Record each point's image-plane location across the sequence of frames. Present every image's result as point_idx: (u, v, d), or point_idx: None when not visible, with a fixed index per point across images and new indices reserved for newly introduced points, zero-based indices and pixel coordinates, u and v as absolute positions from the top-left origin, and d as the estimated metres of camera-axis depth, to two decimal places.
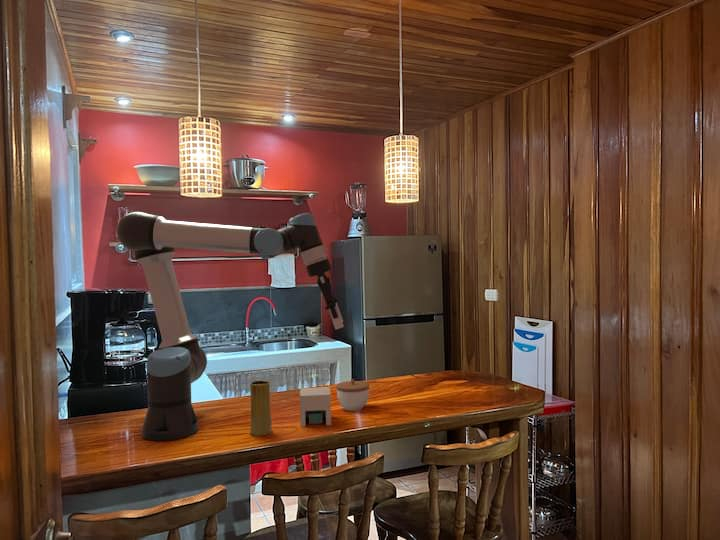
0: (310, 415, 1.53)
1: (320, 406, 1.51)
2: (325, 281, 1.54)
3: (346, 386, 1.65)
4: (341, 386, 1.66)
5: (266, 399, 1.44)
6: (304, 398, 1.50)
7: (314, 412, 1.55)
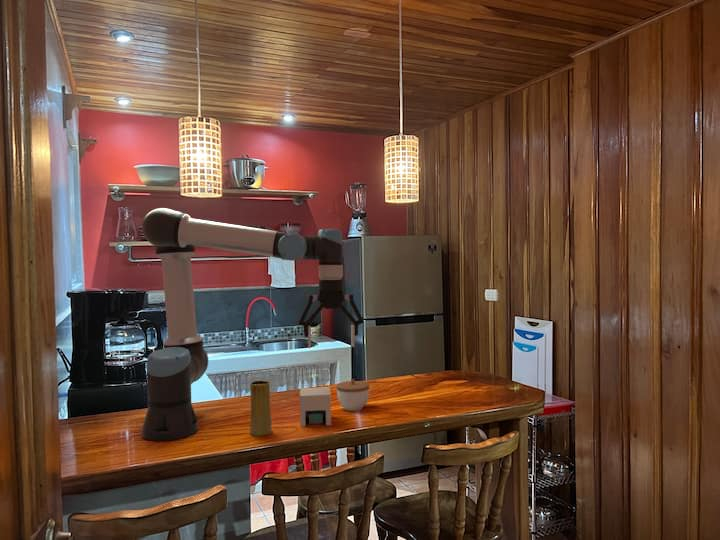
0: (310, 415, 1.53)
1: (320, 406, 1.51)
2: None
3: (346, 386, 1.65)
4: (341, 386, 1.66)
5: (266, 399, 1.44)
6: (304, 398, 1.50)
7: (314, 412, 1.55)
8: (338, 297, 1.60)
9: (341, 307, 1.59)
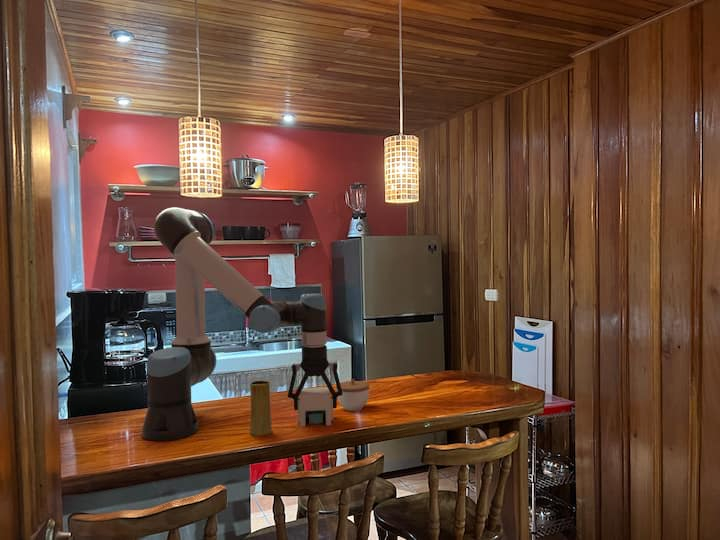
0: (310, 415, 1.53)
1: (320, 406, 1.51)
2: None
3: (346, 386, 1.65)
4: (341, 386, 1.66)
5: (266, 399, 1.44)
6: (304, 398, 1.50)
7: (314, 412, 1.55)
8: (322, 364, 1.54)
9: (323, 376, 1.53)
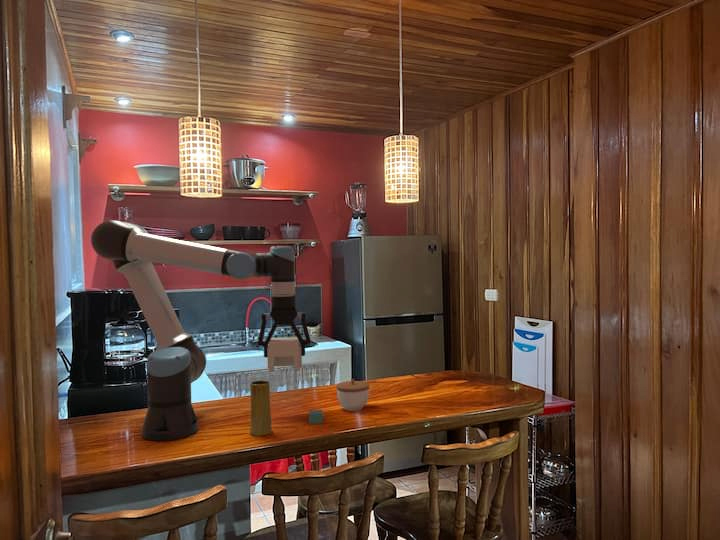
0: (310, 415, 1.53)
1: (288, 352, 1.57)
2: None
3: (346, 386, 1.65)
4: (341, 386, 1.66)
5: (266, 399, 1.44)
6: (272, 345, 1.57)
7: (314, 412, 1.55)
8: (291, 313, 1.61)
9: (291, 325, 1.60)
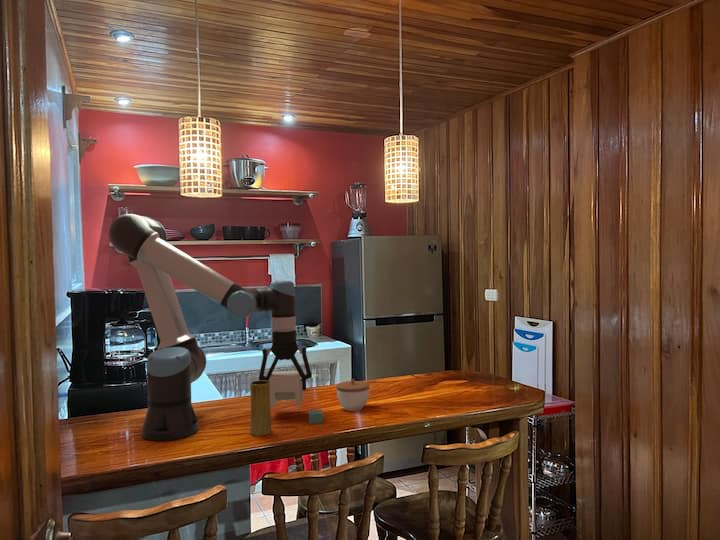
0: (310, 415, 1.53)
1: (289, 388, 1.58)
2: None
3: (346, 386, 1.65)
4: (341, 386, 1.66)
5: (266, 399, 1.44)
6: (273, 380, 1.57)
7: (314, 412, 1.55)
8: (291, 348, 1.61)
9: (292, 359, 1.60)
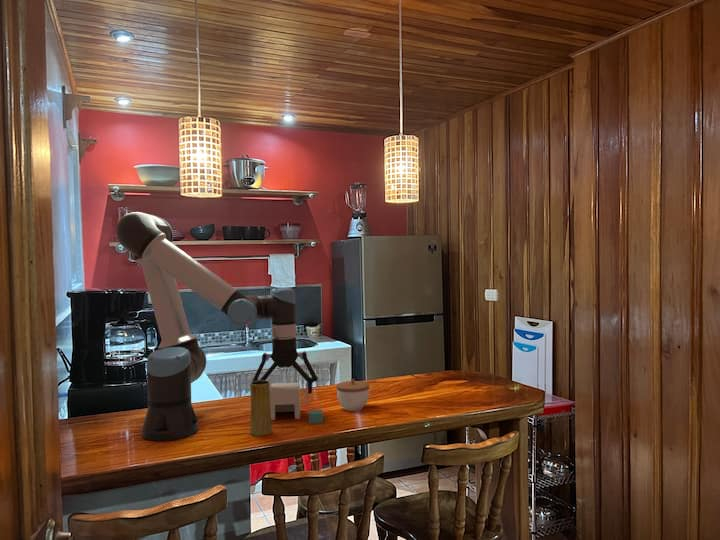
0: (311, 415, 1.53)
1: (289, 400, 1.58)
2: None
3: (346, 386, 1.65)
4: (341, 386, 1.66)
5: (266, 399, 1.44)
6: (273, 393, 1.57)
7: (314, 412, 1.55)
8: (291, 356, 1.61)
9: (294, 366, 1.60)
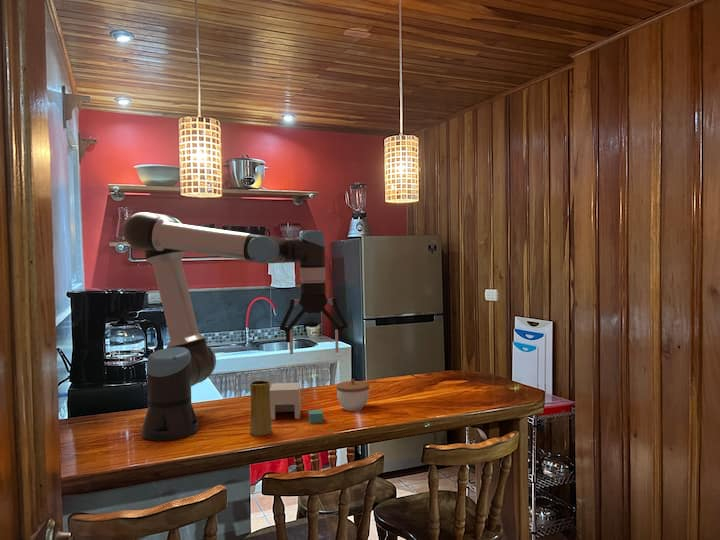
0: (311, 415, 1.53)
1: (289, 400, 1.58)
2: None
3: (346, 386, 1.65)
4: (341, 386, 1.66)
5: (266, 399, 1.44)
6: (273, 393, 1.57)
7: (314, 412, 1.55)
8: (321, 301, 1.54)
9: (324, 311, 1.53)
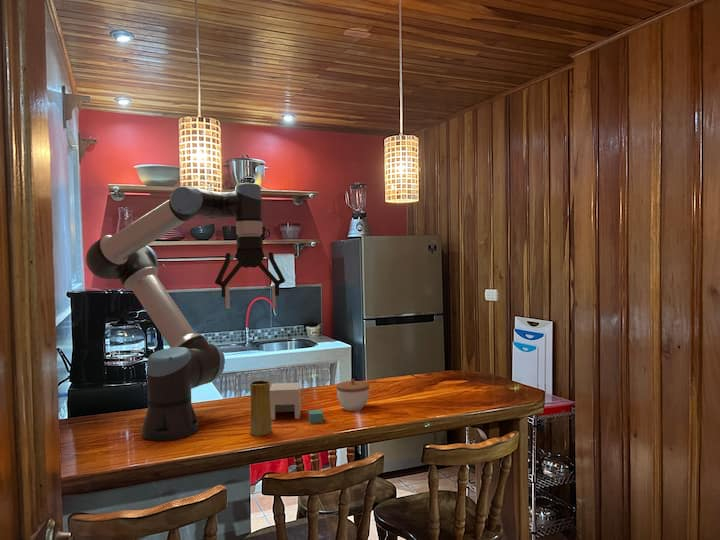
0: (311, 415, 1.53)
1: (289, 400, 1.58)
2: (273, 257, 1.54)
3: (346, 386, 1.65)
4: (341, 386, 1.66)
5: (266, 399, 1.44)
6: (273, 393, 1.57)
7: (314, 412, 1.55)
8: (257, 255, 1.52)
9: (260, 265, 1.51)
